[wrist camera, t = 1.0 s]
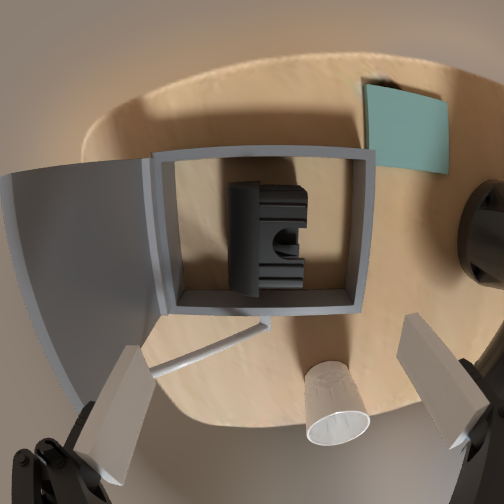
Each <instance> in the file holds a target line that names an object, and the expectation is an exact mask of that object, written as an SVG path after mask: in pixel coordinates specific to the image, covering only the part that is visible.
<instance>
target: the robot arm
mask: <svg viewBox="0 0 504 504" xmlns="http://www.w3.org/2000/svg"><path fill="white" fill-rule="evenodd" d="M458 254H459V259H460V263H461V266H462V268H463V270H464V272H465V273H466V274H467V275H468V276H469V277H470V278H471V279H473V280H474V281H475V282H477V283H478V284H480V285H482V286H486V287H492V288H497V289H502V290H504V182H503V181H499V180H489V181H486V182H484V183H483V184H481V185H480V186H479V187H478V188H477V189H476V190H475V191H474V192H473V194H472V195H471V197H470V199H469V200H468V202H467V204H466V207H465V209H464V212H463V215H462V218H461V222H460V227H459V233H458ZM396 357H397V359H398V360H399V362H400V364H401V365H402V367H403V369H404V370H405V372H406V374H407V375H408V377H409V379H410V380H411V382H412V384H413V386H414V387H415V389H416V391H417V393H418V394H419V396H420V398H421V400H422V401H423V403H424V405H425V407H426V408H427V410H428V412H429V414H430V416H431V418H432V420H433V421H434V423H435V425H436V427H437V429H438V431H439V433H440V434H441V436H442V439H443V440H444V442H445V444H446V446H447V448H448V450H449V449H451V448H453V447H455V446H457V445H459V444H461V443H462V442H463V441H464V439H465V438H467V439H468V441H469V442H468V443H467V444H466V446H465V447H464V448H463V449H462V451H461V454H462V453H463V452H464V451H465V450H466V453H465V457H464V461H463V464H462V468H461V471H460V474H459V477H458V481H457V483H456V486H455V489H454V492H453V495H452V497H451V500H450V502H449V504H504V321H503V323H502V325H501V326H500V328H499V330H498V331H497V333H496V334H495V336H494V338H493V339H492V341H491V342H490V344H489V345H488V347H487V348H486V350H485V351H484V353H483V354H482V355H481V357H480V358H479V360H478V361H476V362H475V364H474V365H473V364H472V363H471V362H469V361H467V360H466V359H464V358H463V359H460V360H457V359H456V357H455V356H454V355H453V354H452V352H451V351H450V350H449V349H448V347H447V346H446V345H445V344H444V343H443V341H442V340H441V339H440V338H439V337H438V336H437V334H436V333H435V332H434V331H433V330H432V329H431V327H430V326H429V325H428V324H427V323H426V322H425V320H424V319H423V318H422V317H421V316H420V315H419V314H418V313H413V314H409V315H405V318H404V324H403V329H402V334H401V338H400V343H399V347H398V352H397V356H396ZM155 385H156V383H155V380H154V378H153V376H152V374H151V372H150V370H149V367H148V365H147V363H146V361H145V358H144V356H143V354H142V351H141V349H140V346H139V345H126V347H125V348H124V350H123V352H122V354H121V355H120V357H119V359H118V361H117V363H116V365H115V366H114V368H113V370H112V372H111V374H110V376H109V378H108V380H107V381H106V383H105V385H104V387H103V389H102V391H101V393H100V395H99V397H98V399H97V401H96V402H95V401H89V402H88V403H87V404H86V405H85V406H84V407H83V408H82V410H81V412H80V414H79V418H77V420H76V422H75V425H74V426H73V428H72V430H71V432H70V434H69V436H68V438H67V440H66V442H65V445H64V447H62V446H61V445H60V444H59V443H58V442H57V441H55V440H54V439H52V438H44V439H43V440H41V441H39V442H38V444H37V445H36V447H35V453H34V454H35V455H36V456H35V455H34V454H33V453H32V452H31V451H30V450H28V449H21V450H19V451H18V452H16V454H15V456H14V459H13V469H12V504H112V503H111V501H110V499H109V497H108V495H107V493H106V491H105V489H104V487H103V485H102V484H101V482H100V479H101V477H102V478H104V479H105V480H106V481H107V482H109V483H113V484H116V485H121V486H123V485H124V482H125V478H126V475H127V472H128V468H129V465H130V461H131V458H132V455H133V452H134V449H135V445H136V442H137V439H138V436H139V433H140V429H141V427H142V424H143V421H144V418H145V414H146V411H147V408H148V406H149V403H150V400H151V397H152V394H153V391H154V388H155ZM41 489H42V493H41Z"/></svg>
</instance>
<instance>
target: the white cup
mask: <svg viewBox="0 0 504 504" xmlns="http://www.w3.org/2000/svg"><path fill="white" fill-rule="evenodd" d="M304 384H305V413H306V429H307V438H308V439H309V440H310V441H311V442H313V443H315V444H319V445H337V444H341V443H345V442H348V441H350V440H352V439H354V438H356V437H358V436H359V435H361V434H362V433H363V432H364V431H365V430H366V429H367V428H368V426H369V424H370V418H369V415H368V413H367V410H366V408H365V405H364V403H363V400H362V398H361V395H360V393H359V390H358V388H357V386H356V384H355V381H354V380H353V378H352V376H351V374H350V372H349V370H348V368H347V366H346V365H345V364H343V363H341V362H339V361H326V362H323V363H319V364H317V365H316V366H314V367H312V368H311V369H310V370H309V371H308V373H307V374H306V375H305V383H304Z"/></svg>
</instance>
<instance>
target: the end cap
mask: <svg viewBox="0 0 504 504" xmlns="http://www.w3.org/2000/svg"><path fill="white" fill-rule="evenodd" d="M226 206H227V244H228V274H229V285H230V287H231V289H232V290H234V291H235V292H237V293H239V294H241V295H245V296H249V297H259V288H276V289H302V288H303V278H304V264H305V259H304V258H298V256H299V244H298V228H307V206H308V194H307V191H305V190H304V188H302V187H301V186H298V185H260V181H243V182H233V183H229V184H227V186H226Z"/></svg>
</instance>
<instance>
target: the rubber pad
mask: <svg viewBox="0 0 504 504" xmlns="http://www.w3.org/2000/svg"><path fill="white" fill-rule="evenodd" d="M363 87H364V102H365V124H366V149H370V150H376V166H386V167H396V168H405V169H413V170H421V171H428V172H435V173H442V174H448V175H449V126H448V110H447V102H444V101H441V100H438V99H434V98H430V97H427V96H423V95H419V94H415V93H411V92H406V91H402V90H397V89H392V88H387V87H382V86H376V85H370V84H366V85H364V86H363Z"/></svg>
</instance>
